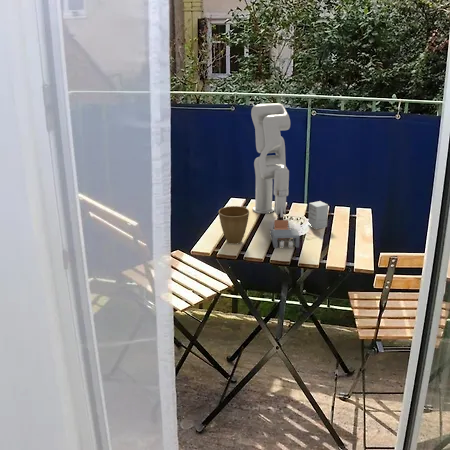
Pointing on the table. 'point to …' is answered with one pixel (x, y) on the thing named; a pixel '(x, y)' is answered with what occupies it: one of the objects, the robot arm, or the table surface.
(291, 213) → the table surface
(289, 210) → the table surface
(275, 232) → the bridge
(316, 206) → the supplement box
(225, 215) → the plant pot
